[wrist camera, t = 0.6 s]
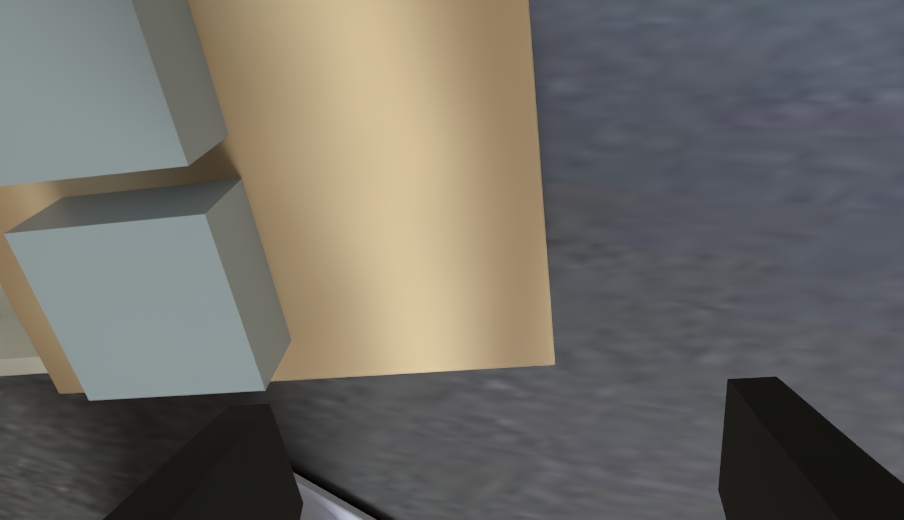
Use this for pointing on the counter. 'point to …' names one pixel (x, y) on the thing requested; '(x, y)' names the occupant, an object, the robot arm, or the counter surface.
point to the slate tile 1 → (102, 89)
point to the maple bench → (365, 183)
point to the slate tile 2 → (156, 290)
